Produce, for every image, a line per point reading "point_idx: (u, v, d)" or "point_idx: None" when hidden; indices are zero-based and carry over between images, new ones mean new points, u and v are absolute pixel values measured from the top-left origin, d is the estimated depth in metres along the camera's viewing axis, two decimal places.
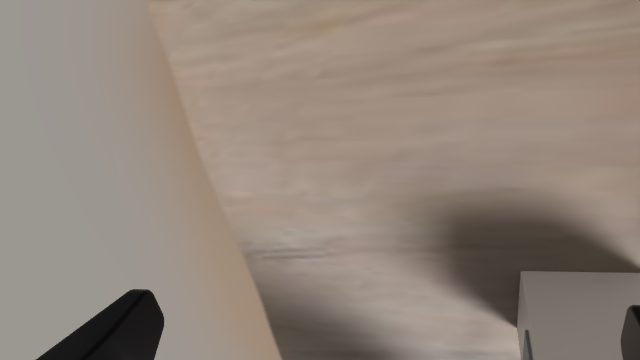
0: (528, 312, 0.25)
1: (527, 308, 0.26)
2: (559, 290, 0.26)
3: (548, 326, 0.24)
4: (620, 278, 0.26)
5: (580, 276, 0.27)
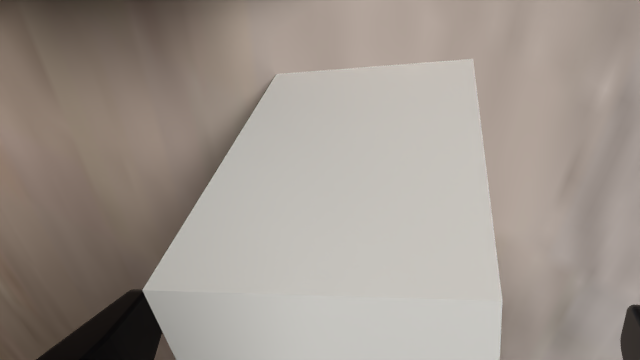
0: None
1: None
2: None
3: None
4: None
5: None
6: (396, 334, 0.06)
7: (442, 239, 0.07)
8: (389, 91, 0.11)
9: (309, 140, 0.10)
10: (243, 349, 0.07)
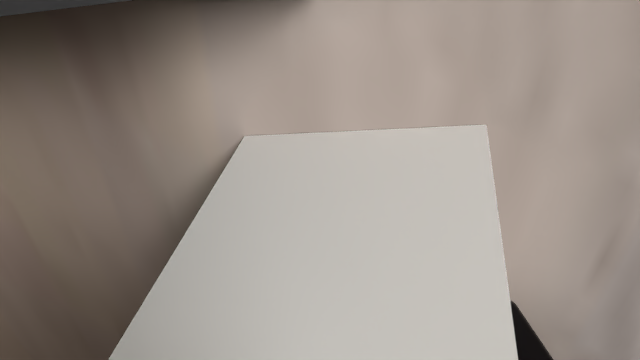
0: None
1: None
2: None
3: None
4: None
5: None
6: None
7: None
8: (381, 172, 0.08)
9: (272, 249, 0.07)
10: None
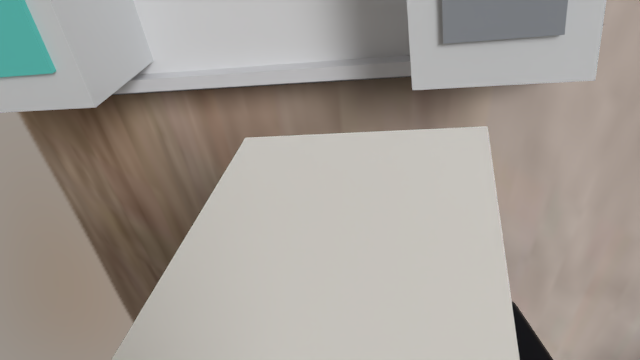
0: None
1: None
2: None
3: None
4: None
5: None
6: None
7: None
8: (381, 173, 0.08)
9: (274, 251, 0.07)
10: None
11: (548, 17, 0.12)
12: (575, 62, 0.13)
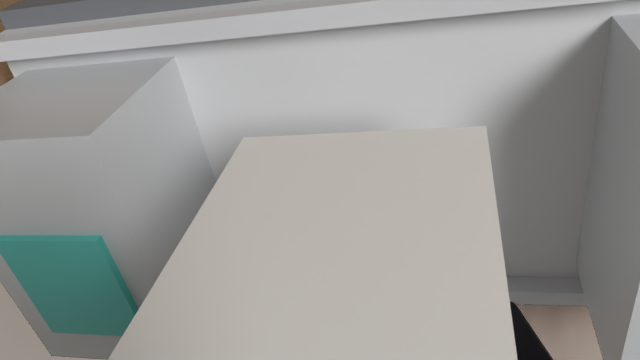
0: None
1: None
2: None
3: None
4: None
5: None
6: None
7: None
8: (380, 173, 0.08)
9: (271, 252, 0.07)
10: None
11: None
12: None
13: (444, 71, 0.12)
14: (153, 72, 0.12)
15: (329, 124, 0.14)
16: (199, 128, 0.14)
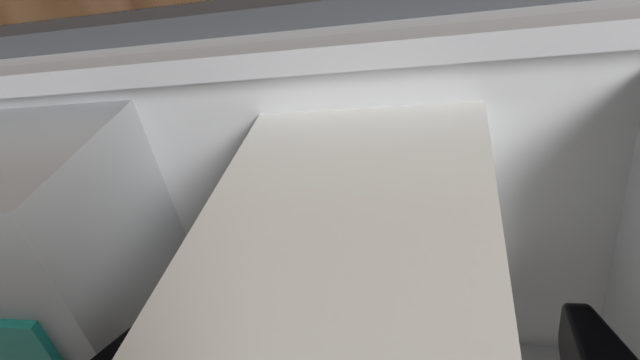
0: None
1: None
2: None
3: None
4: None
5: None
6: None
7: None
8: (387, 142, 0.09)
9: (291, 208, 0.08)
10: None
11: None
12: None
13: None
14: (104, 121, 0.11)
15: None
16: (165, 178, 0.12)
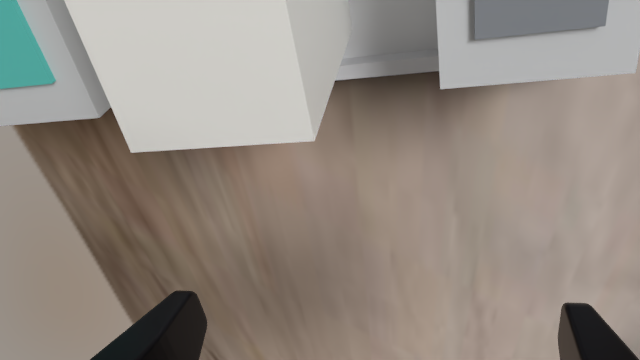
0: None
1: None
2: None
3: None
4: None
5: None
6: None
7: None
8: None
9: None
10: None
11: (588, 8, 0.12)
12: (615, 54, 0.12)
13: None
14: None
15: None
16: None
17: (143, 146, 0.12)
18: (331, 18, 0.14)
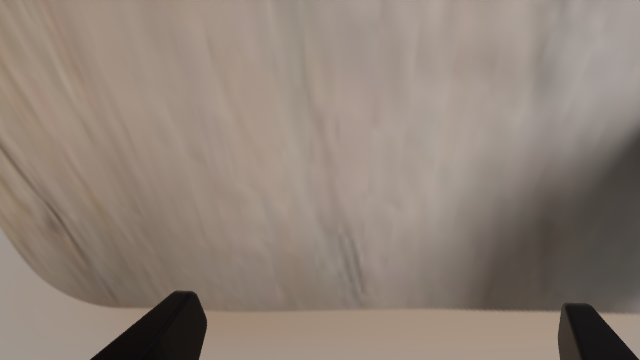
0: None
1: None
2: None
3: None
4: None
5: None
6: None
7: None
8: None
9: None
10: None
11: None
12: None
13: None
14: None
15: None
16: None
17: None
18: None
